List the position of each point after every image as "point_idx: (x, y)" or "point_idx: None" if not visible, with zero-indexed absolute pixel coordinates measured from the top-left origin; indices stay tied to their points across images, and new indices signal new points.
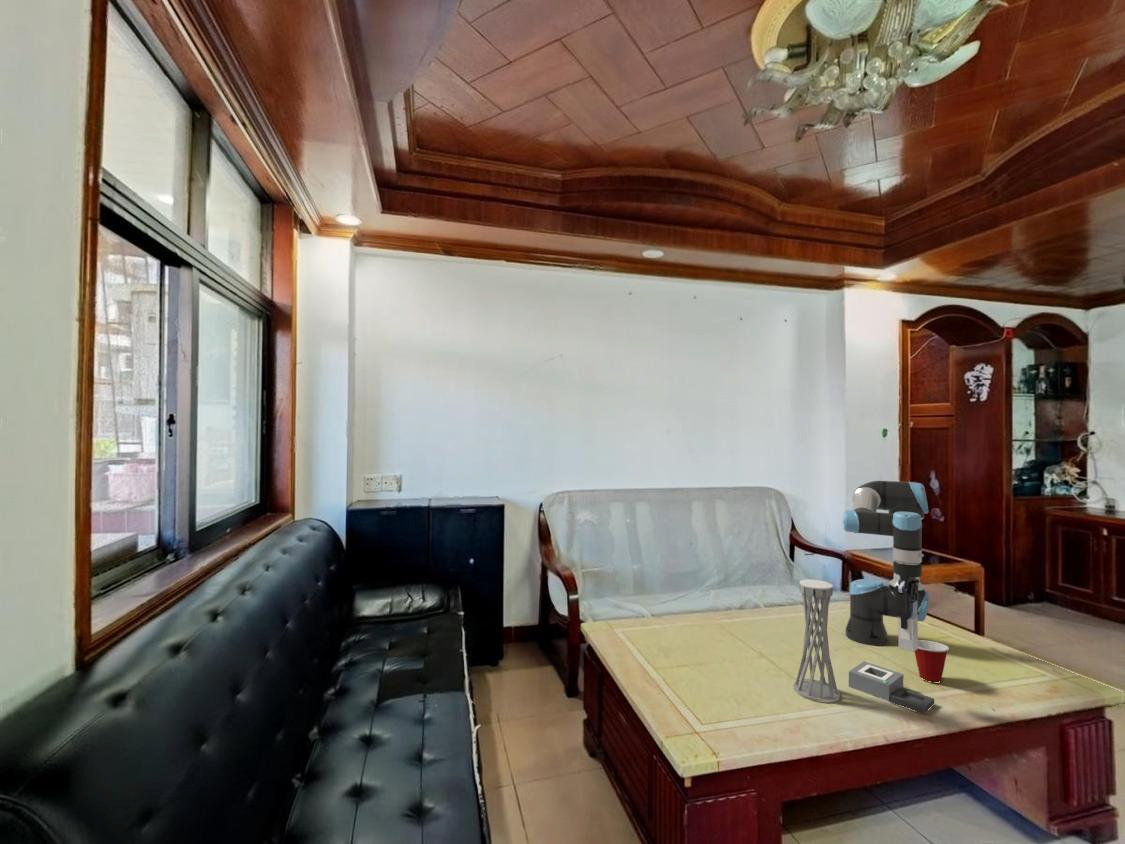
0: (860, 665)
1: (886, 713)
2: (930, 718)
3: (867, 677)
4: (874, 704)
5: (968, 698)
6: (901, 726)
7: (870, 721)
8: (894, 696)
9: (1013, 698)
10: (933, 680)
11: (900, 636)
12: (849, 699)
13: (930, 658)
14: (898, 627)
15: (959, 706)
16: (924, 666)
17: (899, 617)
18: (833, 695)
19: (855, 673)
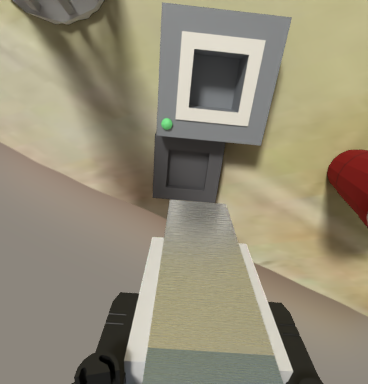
0: (243, 20)
1: (99, 137)
2: (150, 201)
3: (161, 72)
4: (118, 106)
5: (289, 233)
6: (72, 171)
7: (34, 122)
8: (160, 141)
9: (335, 278)
10: (330, 180)
11: (151, 243)
12: (91, 47)
13: (356, 203)
14: (160, 264)
15: (241, 227)
16: (347, 176)
17: (150, 340)
18: (37, 9)
19: (161, 29)
